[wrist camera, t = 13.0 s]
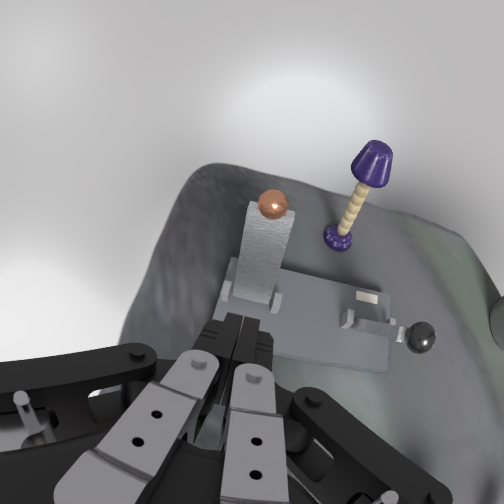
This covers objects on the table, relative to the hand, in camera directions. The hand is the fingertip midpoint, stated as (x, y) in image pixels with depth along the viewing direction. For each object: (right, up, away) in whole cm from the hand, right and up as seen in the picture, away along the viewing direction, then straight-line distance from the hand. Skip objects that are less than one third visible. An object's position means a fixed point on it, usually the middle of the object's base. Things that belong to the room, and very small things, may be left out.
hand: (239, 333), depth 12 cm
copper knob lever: (0, -2, +19) cm, 19 cm away
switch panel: (+7, -5, +21) cm, 22 cm away
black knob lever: (+14, -5, +18) cm, 24 cm away
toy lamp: (+13, +6, +28) cm, 31 cm away
